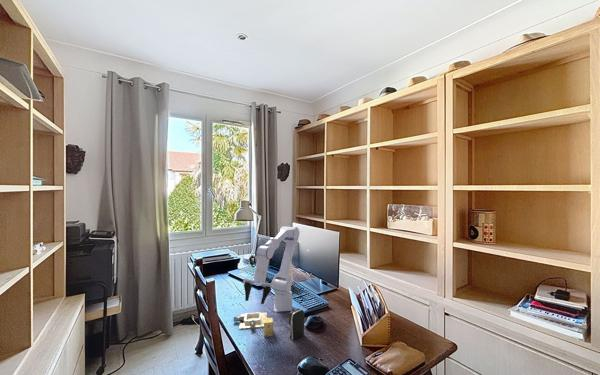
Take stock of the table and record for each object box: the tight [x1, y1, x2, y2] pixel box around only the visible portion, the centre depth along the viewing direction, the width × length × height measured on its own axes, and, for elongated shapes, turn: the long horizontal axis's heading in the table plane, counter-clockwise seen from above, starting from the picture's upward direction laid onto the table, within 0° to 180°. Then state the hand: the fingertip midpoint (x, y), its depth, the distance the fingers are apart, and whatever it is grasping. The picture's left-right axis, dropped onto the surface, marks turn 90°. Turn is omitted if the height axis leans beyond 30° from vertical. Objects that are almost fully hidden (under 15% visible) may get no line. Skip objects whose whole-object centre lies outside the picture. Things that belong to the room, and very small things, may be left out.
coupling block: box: [263, 317, 274, 337], centre depth 117 cm, size 4×5×6 cm
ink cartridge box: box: [284, 263, 294, 285], centre depth 169 cm, size 9×5×15 cm, turn 148°
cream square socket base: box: [233, 311, 268, 331], centre depth 126 cm, size 16×15×3 cm
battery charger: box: [288, 308, 305, 341], centre depth 115 cm, size 7×4×11 cm, turn 134°
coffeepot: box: [248, 255, 269, 277], centre depth 187 cm, size 15×9×18 cm, turn 88°
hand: (254, 302), depth 119 cm, fingers open, 7 cm apart
